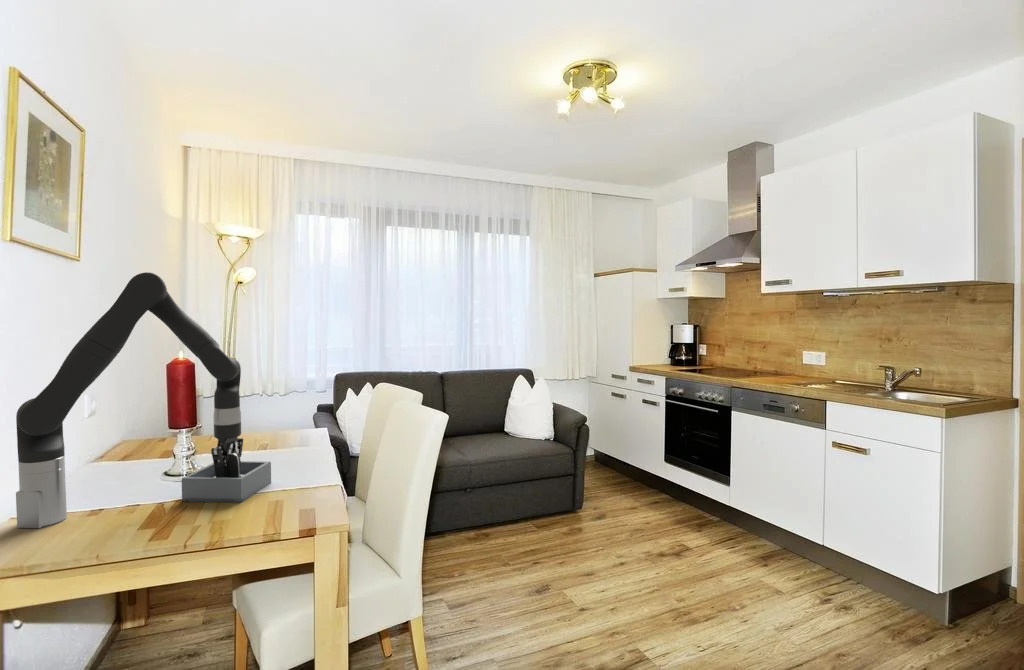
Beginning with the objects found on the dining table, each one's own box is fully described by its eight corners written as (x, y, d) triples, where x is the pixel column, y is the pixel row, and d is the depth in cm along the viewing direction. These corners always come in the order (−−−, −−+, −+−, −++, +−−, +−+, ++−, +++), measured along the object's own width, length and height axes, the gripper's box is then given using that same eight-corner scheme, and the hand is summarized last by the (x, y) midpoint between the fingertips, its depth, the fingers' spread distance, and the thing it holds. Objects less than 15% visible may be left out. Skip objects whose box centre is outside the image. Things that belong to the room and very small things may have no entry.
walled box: (241, 502, 155) (241, 479, 155) (182, 501, 156) (181, 478, 155) (271, 482, 173) (270, 461, 173) (217, 481, 174) (217, 460, 173)
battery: (244, 484, 167) (241, 449, 166) (239, 489, 164) (236, 454, 162) (220, 485, 166) (217, 451, 165) (215, 490, 162) (212, 455, 161)
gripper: (226, 426, 156) (227, 483, 157) (251, 417, 170) (252, 468, 171) (201, 426, 156) (202, 482, 157) (228, 416, 171) (229, 468, 171)
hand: (228, 475), depth 164 cm, fingers open, 4 cm apart
